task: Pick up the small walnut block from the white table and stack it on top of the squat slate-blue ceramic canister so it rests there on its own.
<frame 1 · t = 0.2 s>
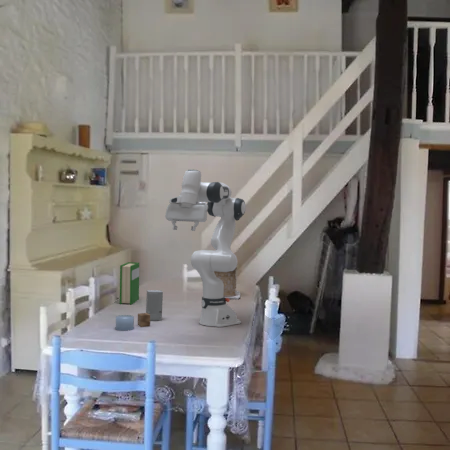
hand: (183, 230, 252), 52 cm above the table, tool tilted 20°, fingers open, 8 cm apart
hardback book: (129, 302, 343), on the table
canister: (124, 328, 275), on the table
walnut block: (143, 325, 282), on the table
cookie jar: (222, 296, 371), on the table
skincare box: (154, 319, 296), on the table
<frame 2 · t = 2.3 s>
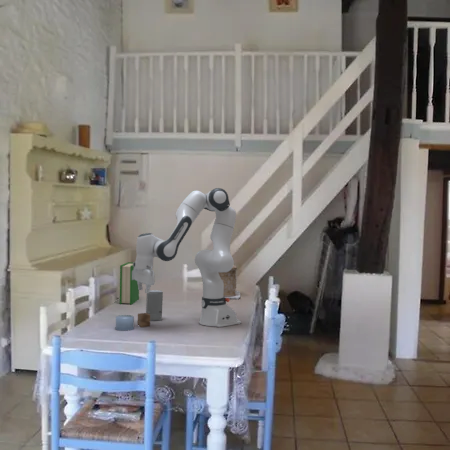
hand: (143, 291, 280), 18 cm above the table, tool pointing down, fingers open, 8 cm apart
nothing on the table moved.
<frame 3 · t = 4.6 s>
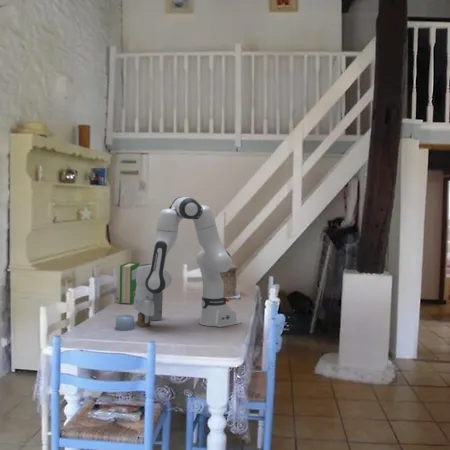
hand: (143, 321, 281), 2 cm above the table, tool pointing down, fingers closed on walnut block, 5 cm apart
walnut block: (143, 325, 282), on the table, touching gripper
everything else where it was.
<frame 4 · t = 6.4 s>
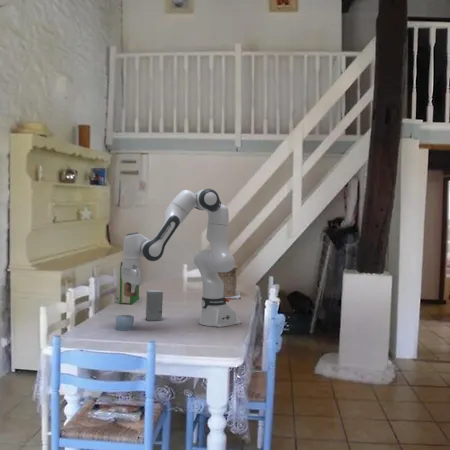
hand: (130, 291, 276), 18 cm above the table, tool pointing down, fingers closed on walnut block, 5 cm apart
walnut block: (130, 295, 276), point 16 cm above the table, touching gripper
everything else where it was.
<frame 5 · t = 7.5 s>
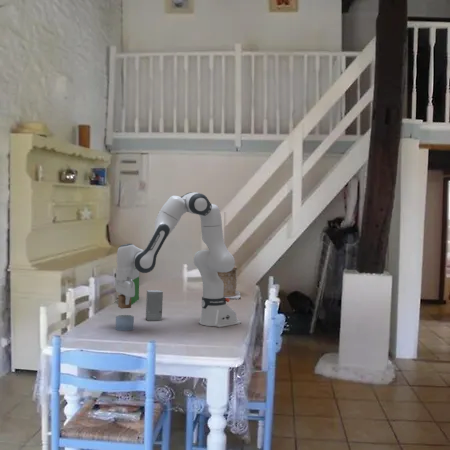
hand: (124, 303, 274), 13 cm above the table, tool pointing down, fingers closed on walnut block, 5 cm apart
walnut block: (124, 307, 274), point 11 cm above the table, touching gripper
everything else where it was.
when the fingers open (10 cm above the table, at t = 8.5 s): walnut block drops 2 cm, resting on canister.
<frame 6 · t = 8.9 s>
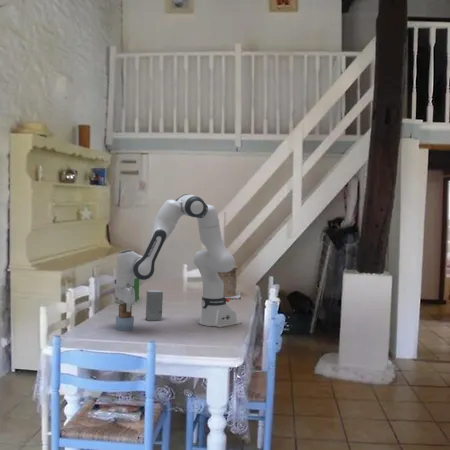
hand: (125, 309, 274), 10 cm above the table, tool pointing down, fingers open, 8 cm apart
canister: (124, 328, 274), on the table, touching walnut block
walnut block: (125, 316, 274), point 6 cm above the table, touching canister
everything else where it was.
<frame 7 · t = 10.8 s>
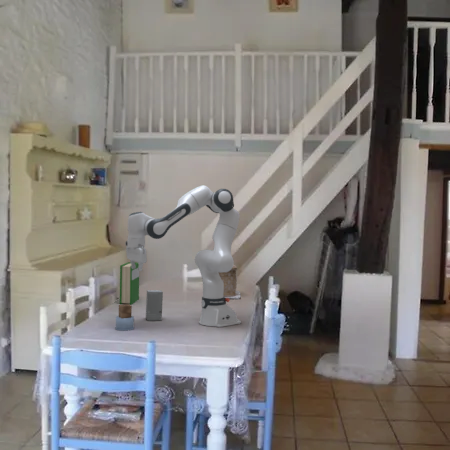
hand: (136, 269, 282), 29 cm above the table, tool pointing down, fingers open, 8 cm apart
nothing on the table moved.
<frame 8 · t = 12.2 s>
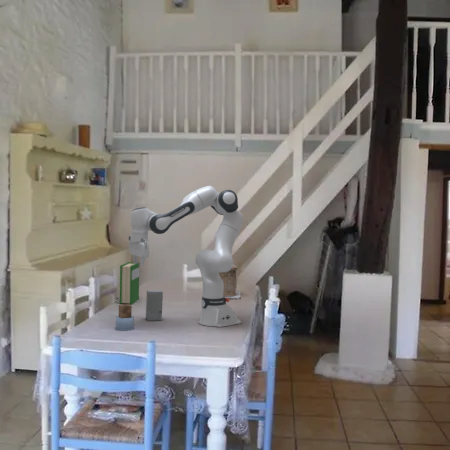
hand: (138, 264, 285), 31 cm above the table, tool pointing down, fingers open, 8 cm apart
nothing on the table moved.
at the end: walnut block inside the target area on the canister (0.1 cm from its centre), point 6.0 cm above the canister's base; walnut block tilted 0°; the gripper is holding nothing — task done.
